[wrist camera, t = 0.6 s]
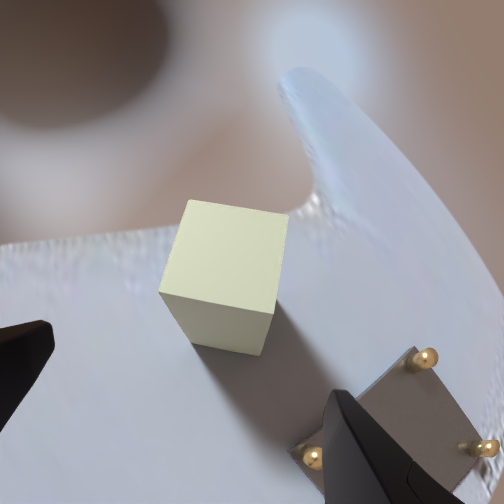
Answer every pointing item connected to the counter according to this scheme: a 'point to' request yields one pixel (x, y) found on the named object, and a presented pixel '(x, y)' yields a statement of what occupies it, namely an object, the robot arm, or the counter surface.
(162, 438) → the counter surface
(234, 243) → the sage block
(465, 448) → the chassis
